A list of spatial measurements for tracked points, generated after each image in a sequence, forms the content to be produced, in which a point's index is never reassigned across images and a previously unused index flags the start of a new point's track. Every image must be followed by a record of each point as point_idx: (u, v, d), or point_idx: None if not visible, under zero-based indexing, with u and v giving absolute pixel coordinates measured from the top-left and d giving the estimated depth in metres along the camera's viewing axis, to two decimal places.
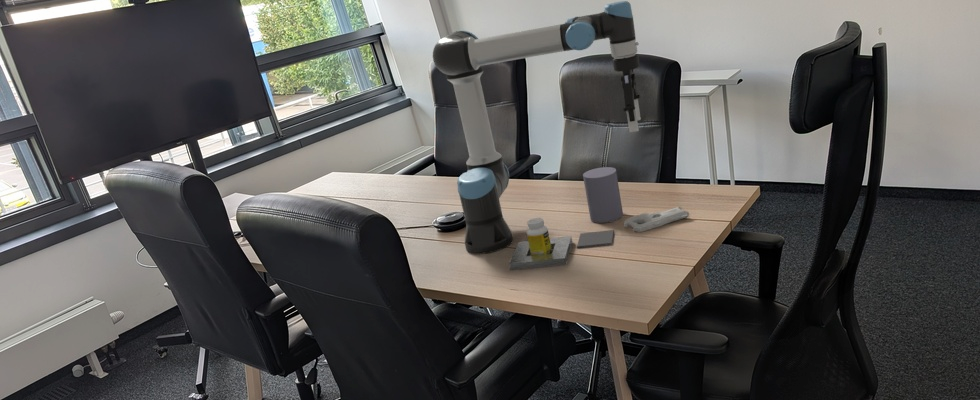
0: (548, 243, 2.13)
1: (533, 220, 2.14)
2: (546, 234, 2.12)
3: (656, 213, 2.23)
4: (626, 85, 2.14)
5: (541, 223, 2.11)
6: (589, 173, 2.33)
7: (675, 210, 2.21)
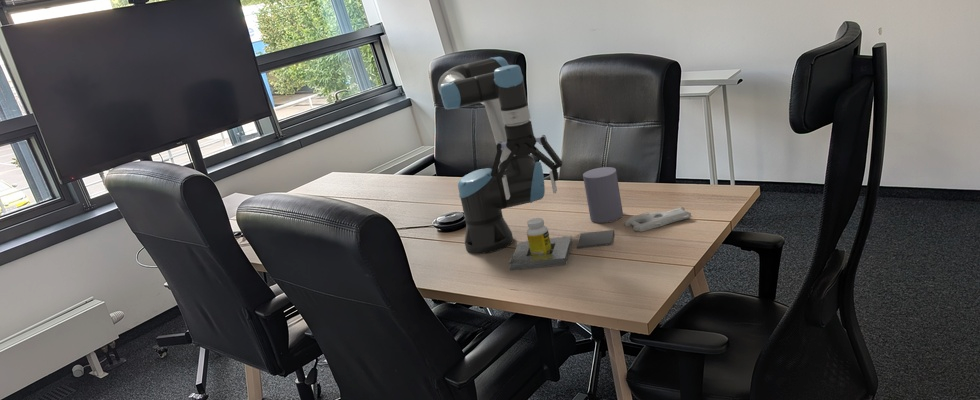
0: (548, 243, 2.13)
1: (533, 220, 2.14)
2: (546, 234, 2.12)
3: (658, 213, 2.23)
4: None
5: (541, 223, 2.11)
6: (589, 173, 2.33)
7: (677, 210, 2.21)
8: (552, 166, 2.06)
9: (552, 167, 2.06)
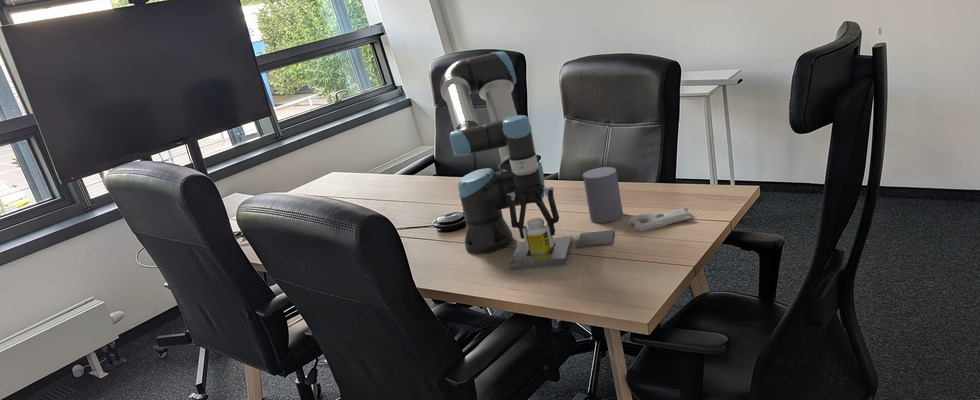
0: (548, 243, 2.13)
1: (533, 220, 2.14)
2: (546, 234, 2.12)
3: (660, 213, 2.23)
4: None
5: (541, 223, 2.11)
6: (589, 173, 2.33)
7: (679, 211, 2.20)
8: (549, 221, 2.11)
9: (549, 222, 2.11)
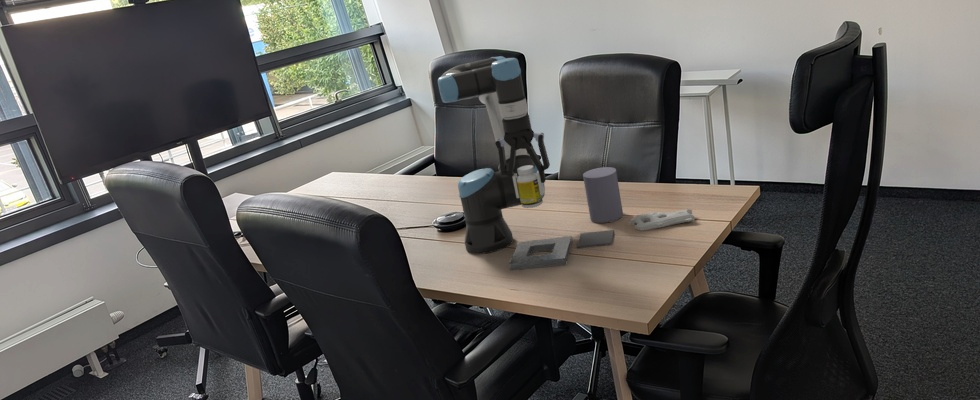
0: (538, 191, 2.08)
1: (523, 167, 2.09)
2: (536, 181, 2.08)
3: (664, 213, 2.22)
4: None
5: (531, 170, 2.07)
6: (589, 173, 2.33)
7: (681, 212, 2.18)
8: (540, 168, 2.06)
9: (539, 169, 2.06)
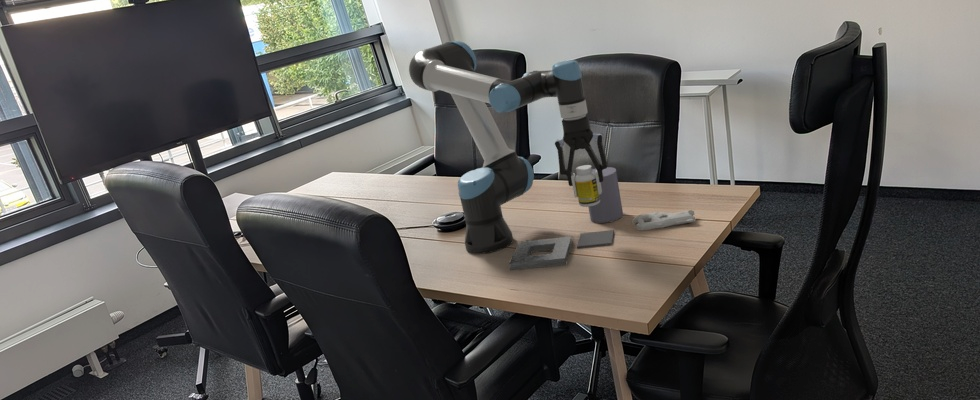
0: (596, 190, 2.13)
1: (581, 167, 2.13)
2: (595, 180, 2.12)
3: (665, 214, 2.21)
4: None
5: (590, 169, 2.11)
6: None
7: (683, 213, 2.17)
8: (598, 167, 2.11)
9: (598, 168, 2.11)
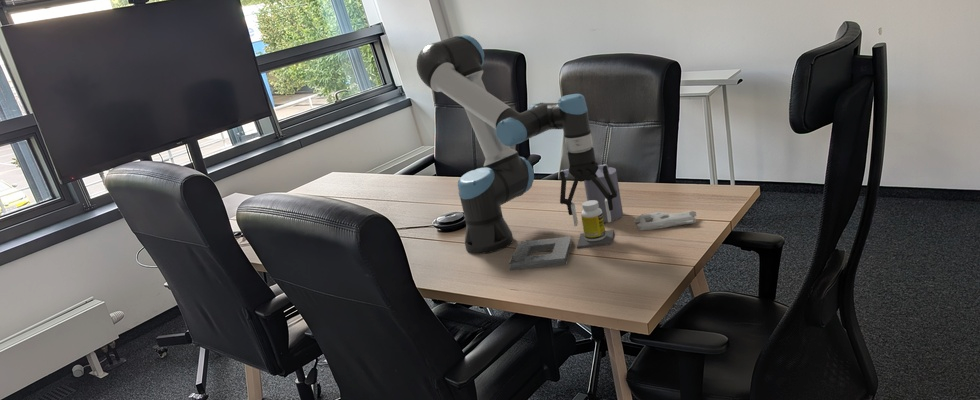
0: (602, 225, 2.16)
1: (588, 202, 2.17)
2: (601, 216, 2.15)
3: (667, 214, 2.21)
4: None
5: (596, 205, 2.14)
6: None
7: (684, 214, 2.17)
8: (608, 196, 2.13)
9: (608, 197, 2.13)
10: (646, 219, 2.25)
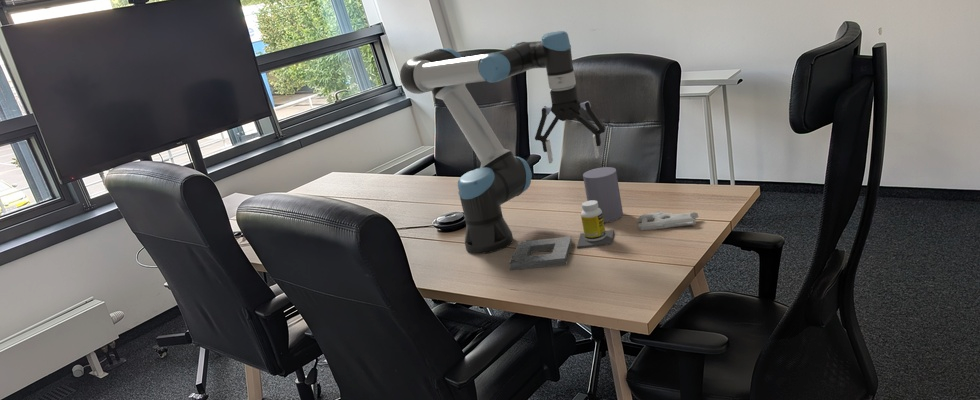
0: (602, 225, 2.16)
1: (587, 202, 2.17)
2: (600, 216, 2.15)
3: (669, 214, 2.20)
4: None
5: (596, 205, 2.15)
6: (589, 173, 2.33)
7: (684, 215, 2.16)
8: (595, 131, 2.11)
9: (595, 132, 2.11)
10: (648, 219, 2.25)
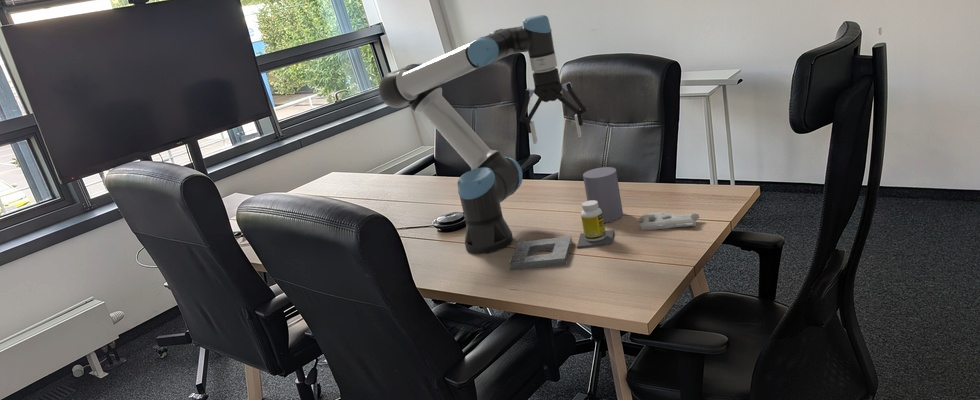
0: (602, 225, 2.16)
1: (587, 202, 2.17)
2: (600, 216, 2.15)
3: (670, 215, 2.20)
4: None
5: (596, 205, 2.15)
6: (589, 173, 2.33)
7: (685, 216, 2.15)
8: (577, 111, 2.19)
9: (577, 112, 2.19)
10: (650, 218, 2.24)
